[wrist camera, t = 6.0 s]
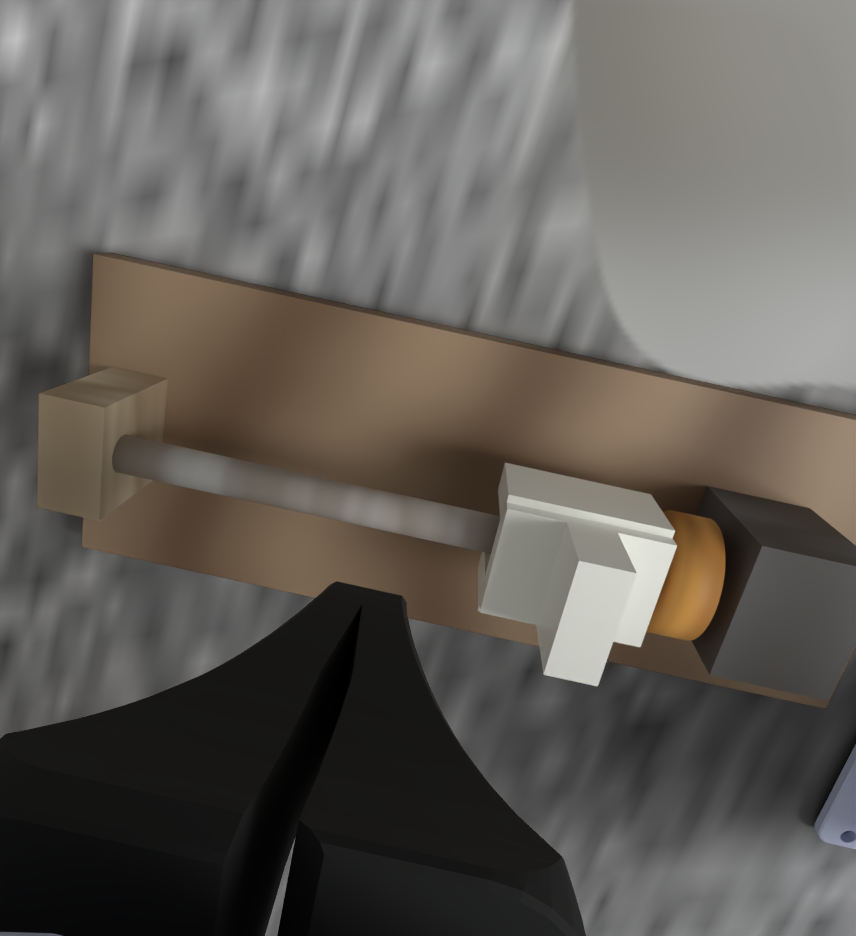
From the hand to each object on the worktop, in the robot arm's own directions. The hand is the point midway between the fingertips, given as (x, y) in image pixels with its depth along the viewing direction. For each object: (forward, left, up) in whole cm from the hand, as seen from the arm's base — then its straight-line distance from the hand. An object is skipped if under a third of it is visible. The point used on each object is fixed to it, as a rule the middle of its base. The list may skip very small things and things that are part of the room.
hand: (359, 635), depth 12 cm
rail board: (-2, 0, -9) cm, 10 cm away
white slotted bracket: (-5, 0, -7) cm, 8 cm away
